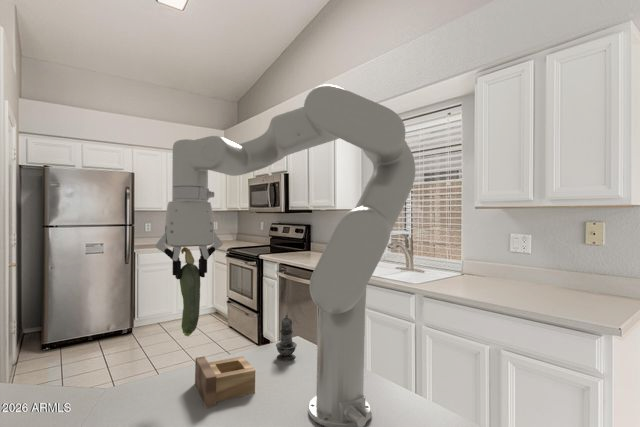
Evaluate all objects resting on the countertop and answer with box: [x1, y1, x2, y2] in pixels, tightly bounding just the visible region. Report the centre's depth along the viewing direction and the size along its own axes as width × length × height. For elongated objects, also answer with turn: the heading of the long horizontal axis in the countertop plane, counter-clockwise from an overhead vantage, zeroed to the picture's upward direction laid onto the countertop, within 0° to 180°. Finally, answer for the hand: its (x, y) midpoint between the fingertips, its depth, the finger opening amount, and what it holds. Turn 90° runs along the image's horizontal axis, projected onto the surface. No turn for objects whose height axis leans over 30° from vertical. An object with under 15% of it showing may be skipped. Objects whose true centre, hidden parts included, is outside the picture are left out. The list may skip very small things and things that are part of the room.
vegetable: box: [179, 247, 201, 337], centre depth 79 cm, size 4×4×20 cm
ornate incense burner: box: [275, 314, 298, 362], centre depth 100 cm, size 6×6×12 cm
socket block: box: [208, 356, 256, 403], centre depth 81 cm, size 9×9×5 cm
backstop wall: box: [194, 356, 217, 408], centre depth 78 cm, size 12×2×6 cm, turn 29°
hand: (190, 276), depth 79 cm, fingers closed on vegetable, 4 cm apart
